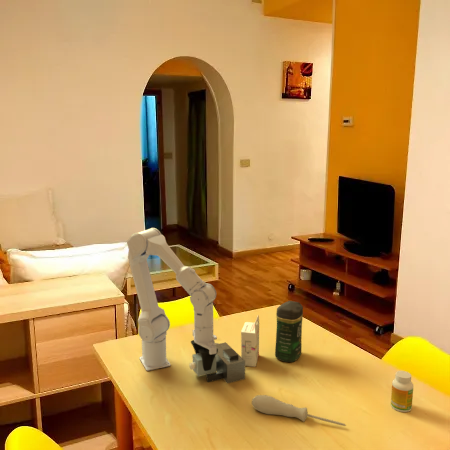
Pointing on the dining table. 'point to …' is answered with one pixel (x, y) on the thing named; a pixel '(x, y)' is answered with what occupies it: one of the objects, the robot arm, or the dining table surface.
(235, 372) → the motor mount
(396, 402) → the supplement bottle
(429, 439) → the dining table surface
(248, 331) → the ink cartridge box
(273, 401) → the screwdriver
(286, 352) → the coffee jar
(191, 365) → the grey block
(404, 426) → the dining table surface
